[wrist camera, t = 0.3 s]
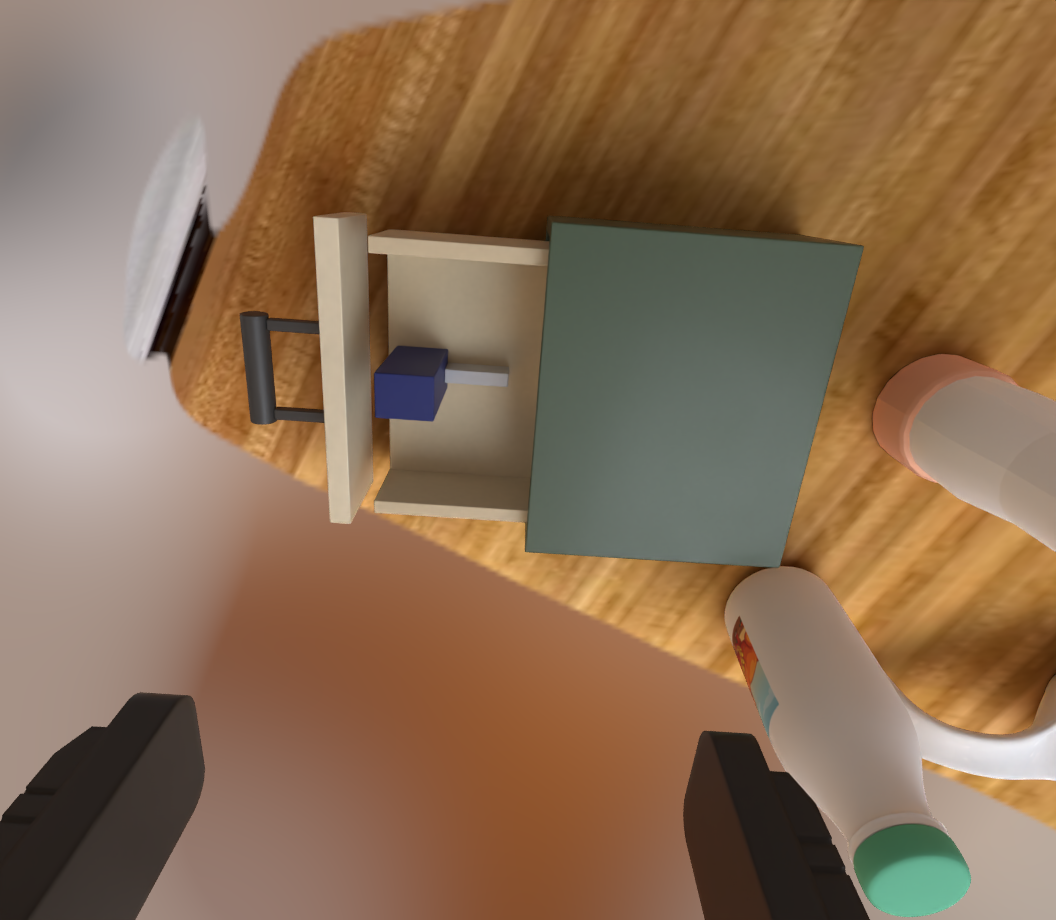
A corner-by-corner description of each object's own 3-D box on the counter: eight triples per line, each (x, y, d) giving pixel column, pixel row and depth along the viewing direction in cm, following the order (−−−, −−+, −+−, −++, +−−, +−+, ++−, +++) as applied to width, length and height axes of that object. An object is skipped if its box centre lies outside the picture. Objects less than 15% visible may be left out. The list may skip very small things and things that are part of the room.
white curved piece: (1197, 623, 47) (1305, 693, 41) (1139, 742, 52) (1228, 823, 45) (874, 626, 47) (930, 697, 41) (846, 744, 52) (892, 825, 45)
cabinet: (525, 493, 43) (524, 552, 36) (547, 215, 36) (551, 221, 29) (739, 507, 44) (779, 568, 37) (801, 234, 37) (865, 245, 30)
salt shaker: (1009, 415, 41) (1371, 587, 23) (905, 482, 43) (1168, 689, 25) (956, 329, 39) (1311, 447, 21) (850, 404, 41) (1095, 570, 23)
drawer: (282, 475, 42) (246, 517, 36) (259, 205, 35) (211, 208, 30) (560, 493, 42) (565, 538, 37) (587, 230, 36) (598, 237, 30)
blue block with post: (396, 345, 37) (373, 372, 32) (510, 353, 37) (506, 381, 32) (397, 384, 38) (374, 418, 33) (507, 392, 38) (504, 427, 33)
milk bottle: (738, 555, 45) (867, 823, 27) (845, 570, 45) (1045, 845, 27) (710, 641, 48) (807, 931, 30) (810, 654, 48) (967, 950, 30)
